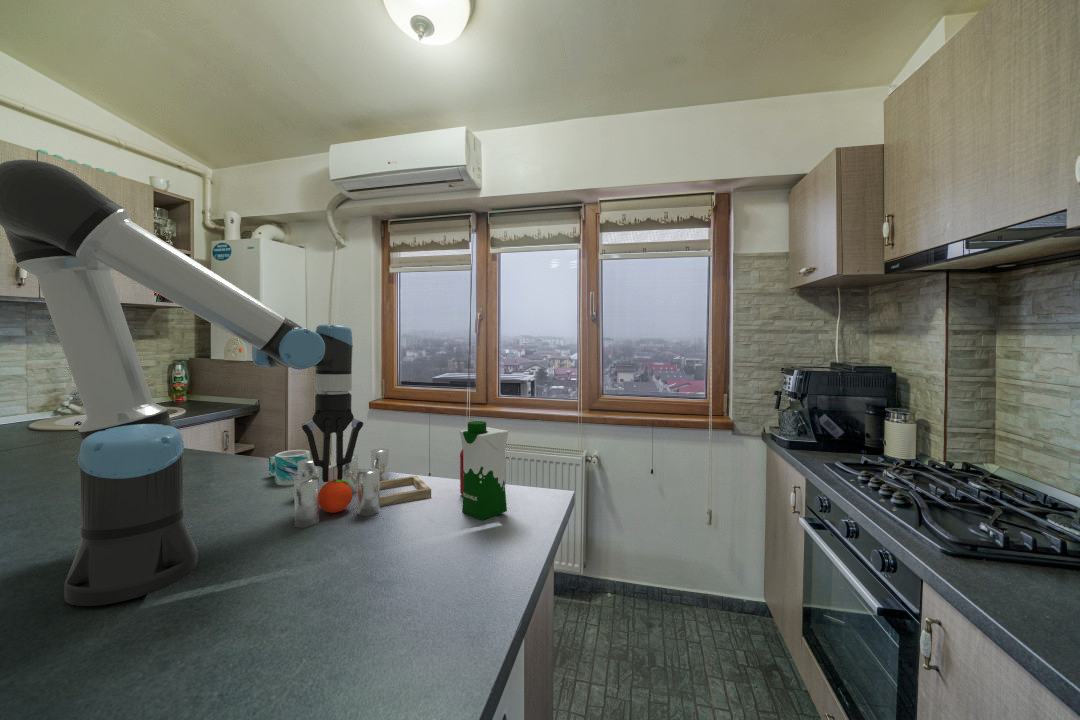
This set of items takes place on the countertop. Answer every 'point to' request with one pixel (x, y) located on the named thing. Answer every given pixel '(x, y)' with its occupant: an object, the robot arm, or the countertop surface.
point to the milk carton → (483, 470)
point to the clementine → (335, 496)
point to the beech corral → (404, 496)
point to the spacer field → (364, 481)
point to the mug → (286, 466)
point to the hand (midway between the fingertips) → (332, 494)
